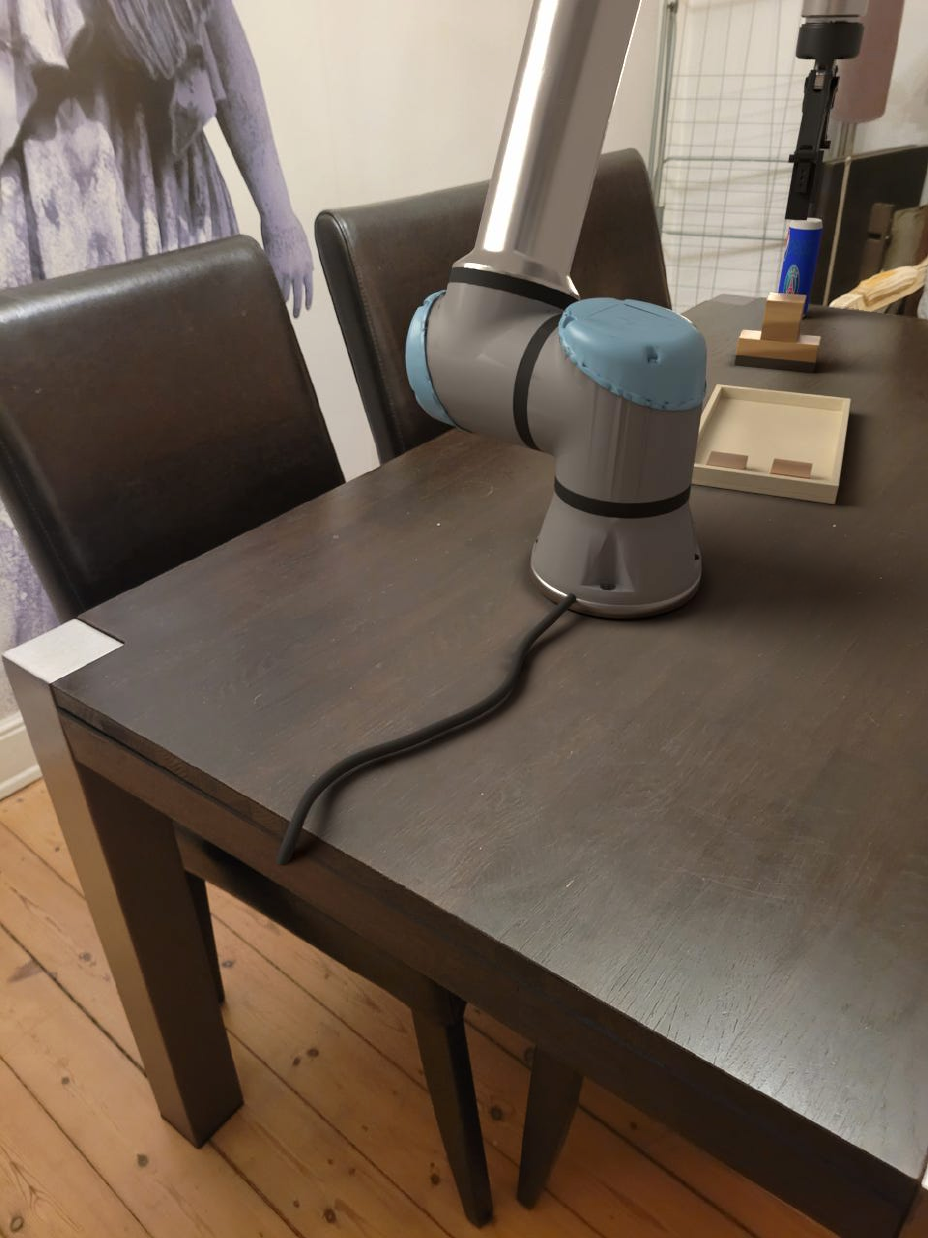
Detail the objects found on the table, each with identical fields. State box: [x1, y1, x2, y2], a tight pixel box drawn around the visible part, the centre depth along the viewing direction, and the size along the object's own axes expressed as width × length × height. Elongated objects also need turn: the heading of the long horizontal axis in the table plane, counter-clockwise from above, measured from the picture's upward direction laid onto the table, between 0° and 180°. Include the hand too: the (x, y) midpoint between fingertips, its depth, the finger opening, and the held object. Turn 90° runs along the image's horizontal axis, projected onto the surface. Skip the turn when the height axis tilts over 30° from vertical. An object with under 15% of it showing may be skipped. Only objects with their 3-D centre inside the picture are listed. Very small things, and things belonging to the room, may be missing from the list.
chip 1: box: [706, 451, 748, 470], centre depth 101 cm, size 4×4×2 cm
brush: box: [734, 292, 822, 374], centre depth 132 cm, size 4×11×10 cm, turn 68°
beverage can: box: [777, 217, 824, 318], centre depth 152 cm, size 5×5×15 cm
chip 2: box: [770, 459, 813, 479], centre depth 99 cm, size 4×4×2 cm
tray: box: [691, 383, 852, 505], centre depth 109 cm, size 28×17×2 cm, turn 158°
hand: (800, 210), depth 123 cm, fingers open, 13 cm apart
